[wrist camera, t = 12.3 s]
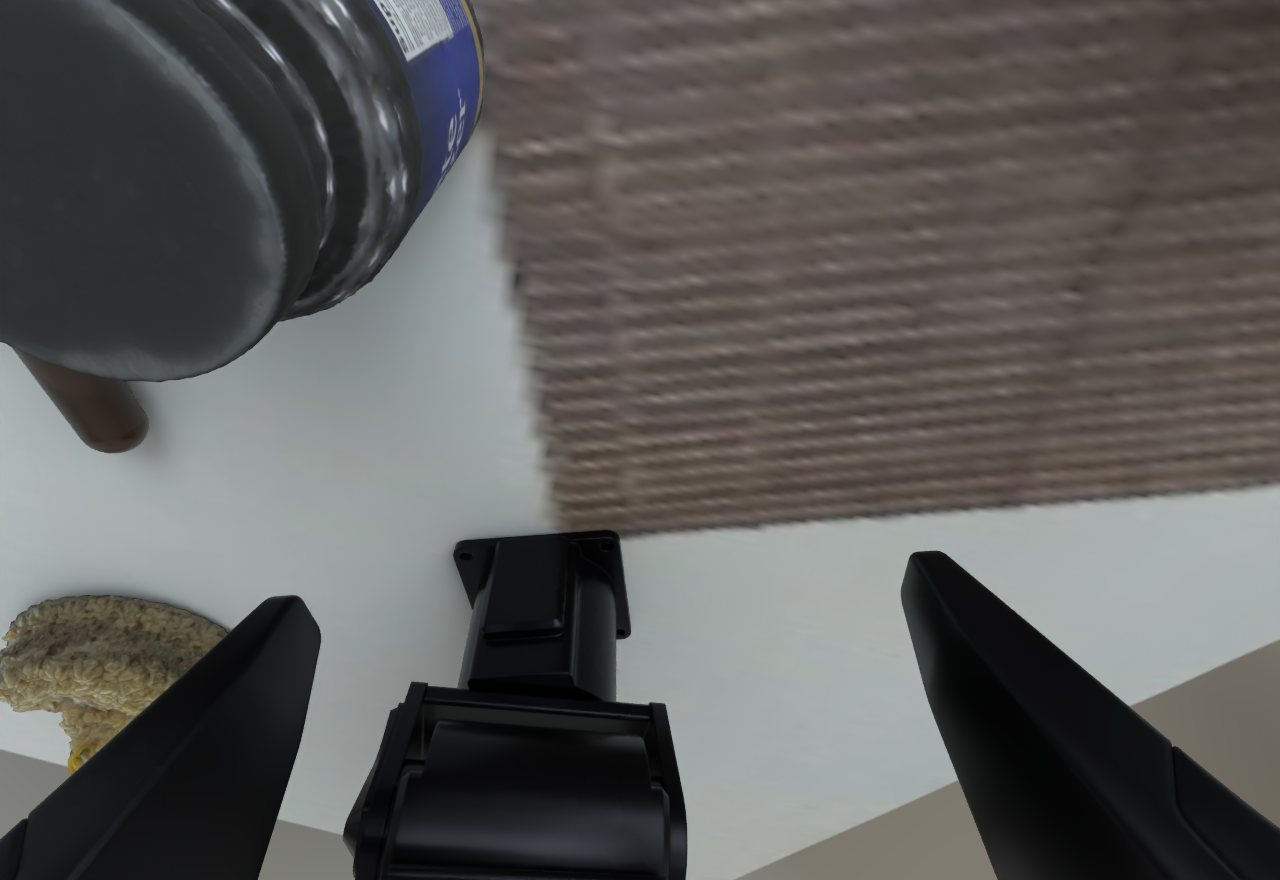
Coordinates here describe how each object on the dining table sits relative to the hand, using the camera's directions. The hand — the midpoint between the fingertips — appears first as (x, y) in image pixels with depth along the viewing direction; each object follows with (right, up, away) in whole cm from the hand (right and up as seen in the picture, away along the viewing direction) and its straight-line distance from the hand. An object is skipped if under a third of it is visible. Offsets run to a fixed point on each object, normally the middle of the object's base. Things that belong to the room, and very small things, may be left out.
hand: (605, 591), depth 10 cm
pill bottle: (-6, +12, +6) cm, 15 cm away
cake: (-22, -8, +21) cm, 31 cm away
